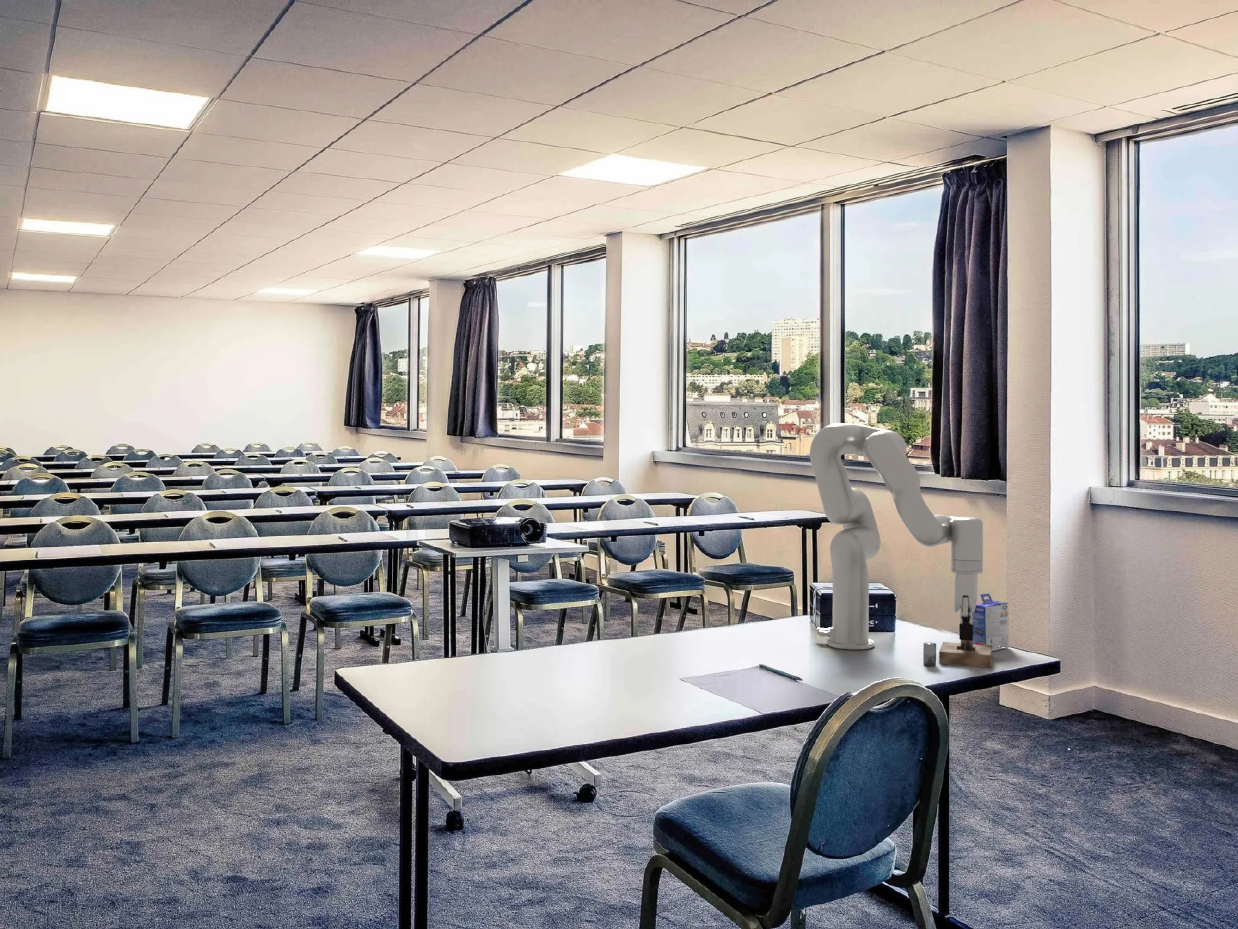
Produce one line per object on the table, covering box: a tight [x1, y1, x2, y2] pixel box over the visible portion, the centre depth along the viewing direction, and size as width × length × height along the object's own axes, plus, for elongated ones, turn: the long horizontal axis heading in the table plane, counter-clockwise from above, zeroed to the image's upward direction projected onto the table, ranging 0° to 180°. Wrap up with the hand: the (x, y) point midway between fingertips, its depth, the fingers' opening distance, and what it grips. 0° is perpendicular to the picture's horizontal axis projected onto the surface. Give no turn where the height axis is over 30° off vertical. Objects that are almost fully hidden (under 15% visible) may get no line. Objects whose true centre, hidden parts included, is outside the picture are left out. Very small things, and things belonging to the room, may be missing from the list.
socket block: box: [938, 641, 993, 668], centre depth 262 cm, size 12×12×3 cm
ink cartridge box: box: [973, 593, 1010, 652], centre depth 275 cm, size 10×6×14 cm, turn 124°
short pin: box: [922, 641, 937, 668], centre depth 256 cm, size 3×3×6 cm
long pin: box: [960, 609, 973, 651], centre depth 261 cm, size 3×3×12 cm
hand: (966, 638), depth 261 cm, fingers closed on long pin, 3 cm apart
